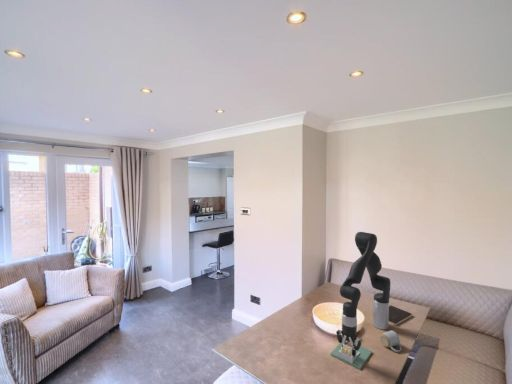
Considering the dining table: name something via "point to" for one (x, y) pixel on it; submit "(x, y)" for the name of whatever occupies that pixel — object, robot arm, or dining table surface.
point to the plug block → (347, 347)
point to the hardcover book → (397, 315)
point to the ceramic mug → (390, 340)
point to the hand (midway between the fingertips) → (348, 353)
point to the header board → (358, 360)
